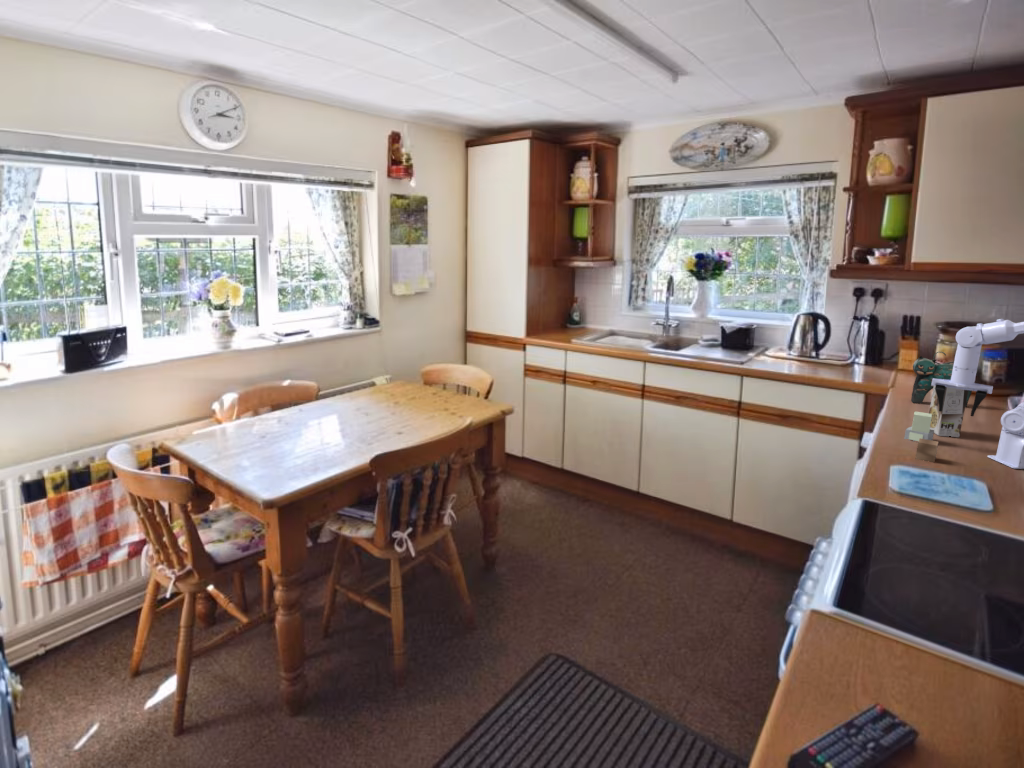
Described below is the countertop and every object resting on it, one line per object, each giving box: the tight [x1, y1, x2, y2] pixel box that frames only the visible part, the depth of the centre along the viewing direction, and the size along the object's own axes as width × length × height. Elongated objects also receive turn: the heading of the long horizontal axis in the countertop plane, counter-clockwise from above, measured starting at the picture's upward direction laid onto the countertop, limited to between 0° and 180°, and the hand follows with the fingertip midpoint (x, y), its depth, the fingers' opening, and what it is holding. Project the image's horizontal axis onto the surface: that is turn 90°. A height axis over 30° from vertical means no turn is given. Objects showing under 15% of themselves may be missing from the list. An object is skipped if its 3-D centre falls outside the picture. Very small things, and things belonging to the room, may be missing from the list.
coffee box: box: [928, 386, 969, 438], centre depth 202 cm, size 9×6×16 cm
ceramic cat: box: [910, 351, 973, 408], centre depth 237 cm, size 20×6×20 cm, turn 73°
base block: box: [903, 425, 935, 442], centre depth 195 cm, size 6×6×4 cm
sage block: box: [911, 411, 932, 433], centre depth 194 cm, size 4×4×5 cm
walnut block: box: [915, 438, 939, 463], centre depth 178 cm, size 4×4×5 cm
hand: (956, 413), depth 187 cm, fingers open, 7 cm apart
